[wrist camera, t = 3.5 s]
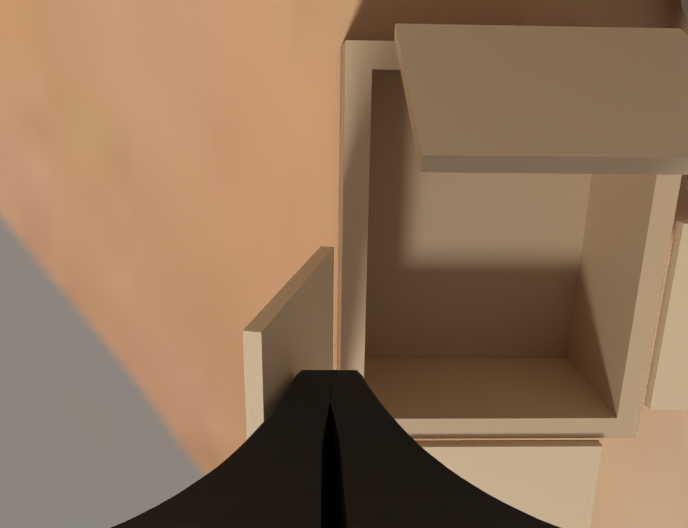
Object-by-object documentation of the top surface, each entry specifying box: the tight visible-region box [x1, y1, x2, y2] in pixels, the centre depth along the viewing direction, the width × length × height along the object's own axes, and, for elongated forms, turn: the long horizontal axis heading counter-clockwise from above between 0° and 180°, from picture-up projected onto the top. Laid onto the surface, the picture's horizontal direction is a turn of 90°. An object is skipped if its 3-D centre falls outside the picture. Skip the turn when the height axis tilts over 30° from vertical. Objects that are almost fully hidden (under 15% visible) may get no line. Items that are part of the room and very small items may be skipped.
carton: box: [337, 40, 688, 528], centre depth 18 cm, size 15×12×4 cm
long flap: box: [394, 23, 688, 175], centre depth 11 cm, size 5×6×1 cm
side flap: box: [243, 246, 334, 439], centre depth 13 cm, size 5×5×1 cm
